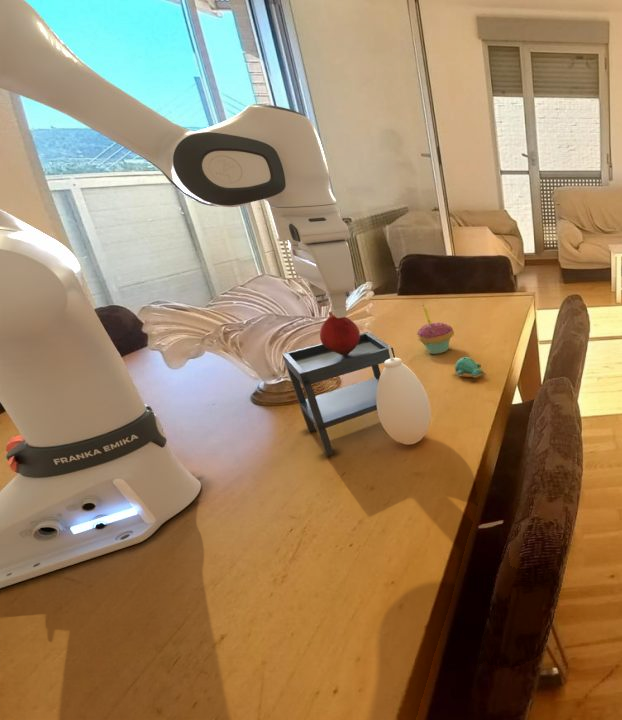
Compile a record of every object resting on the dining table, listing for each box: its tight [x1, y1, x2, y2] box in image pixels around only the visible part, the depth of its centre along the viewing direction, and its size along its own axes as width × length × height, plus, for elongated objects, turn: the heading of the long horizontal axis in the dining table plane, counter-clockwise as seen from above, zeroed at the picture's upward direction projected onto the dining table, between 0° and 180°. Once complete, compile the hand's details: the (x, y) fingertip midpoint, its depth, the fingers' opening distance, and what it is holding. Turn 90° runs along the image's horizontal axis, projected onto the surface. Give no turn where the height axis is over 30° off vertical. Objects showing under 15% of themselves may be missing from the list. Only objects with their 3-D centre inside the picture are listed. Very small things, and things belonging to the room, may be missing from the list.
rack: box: [281, 331, 396, 457], centre depth 84 cm, size 14×12×15 cm
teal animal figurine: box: [454, 356, 485, 379], centre depth 105 cm, size 6×7×4 cm
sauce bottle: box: [376, 344, 432, 445], centre depth 78 cm, size 8×8×18 cm
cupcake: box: [416, 304, 455, 355], centre depth 118 cm, size 9×8×12 cm
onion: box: [319, 310, 361, 356], centre depth 80 cm, size 6×6×8 cm
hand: (331, 310), depth 78 cm, fingers open, 8 cm apart
